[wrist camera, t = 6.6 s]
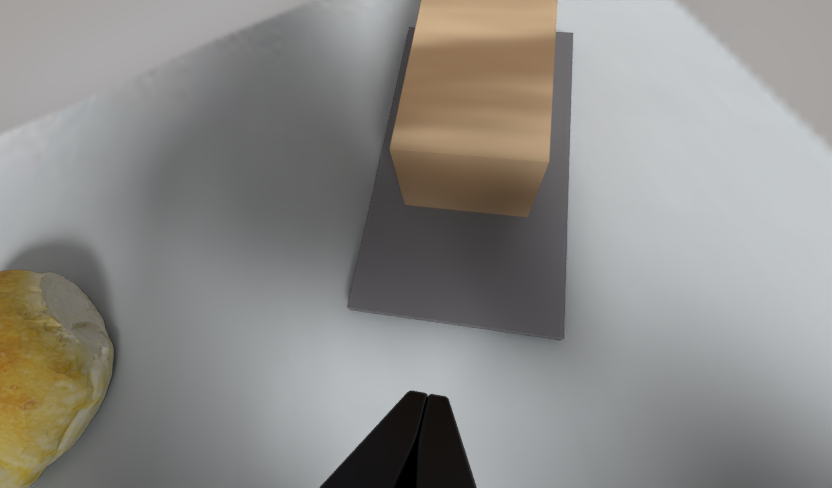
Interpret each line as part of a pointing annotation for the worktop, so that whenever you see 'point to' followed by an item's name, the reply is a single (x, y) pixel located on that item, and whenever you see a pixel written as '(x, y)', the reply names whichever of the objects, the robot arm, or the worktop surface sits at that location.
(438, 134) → the oak block
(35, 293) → the bread roll
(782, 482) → the worktop surface
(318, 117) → the worktop surface
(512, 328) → the mat
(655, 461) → the worktop surface
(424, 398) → the robot arm
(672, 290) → the worktop surface
